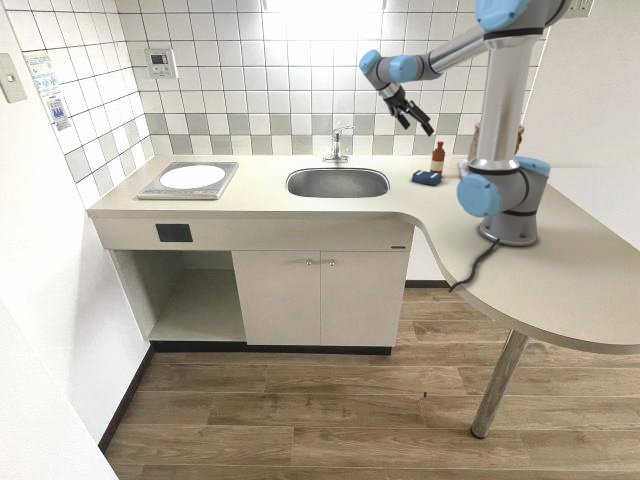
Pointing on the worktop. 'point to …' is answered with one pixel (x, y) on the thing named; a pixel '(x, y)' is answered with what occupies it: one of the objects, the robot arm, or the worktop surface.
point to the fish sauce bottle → (438, 159)
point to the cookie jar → (473, 149)
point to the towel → (426, 177)
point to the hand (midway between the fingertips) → (419, 130)
